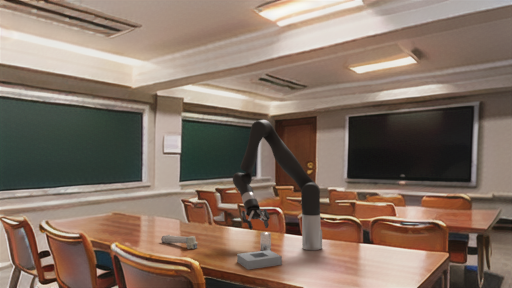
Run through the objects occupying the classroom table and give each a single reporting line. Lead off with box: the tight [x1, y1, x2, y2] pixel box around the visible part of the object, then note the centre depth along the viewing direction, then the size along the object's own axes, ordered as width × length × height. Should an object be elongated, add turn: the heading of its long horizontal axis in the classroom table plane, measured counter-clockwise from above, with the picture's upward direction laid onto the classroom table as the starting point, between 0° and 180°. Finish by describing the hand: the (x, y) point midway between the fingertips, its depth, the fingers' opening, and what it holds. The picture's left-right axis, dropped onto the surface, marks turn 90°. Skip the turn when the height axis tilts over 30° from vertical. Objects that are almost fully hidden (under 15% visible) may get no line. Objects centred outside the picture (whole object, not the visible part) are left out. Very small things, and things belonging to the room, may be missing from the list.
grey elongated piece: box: [160, 234, 198, 250], centre depth 188 cm, size 5×7×25 cm
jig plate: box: [236, 250, 283, 270], centre depth 155 cm, size 16×12×4 cm
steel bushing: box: [259, 231, 272, 251], centre depth 170 cm, size 5×5×10 cm
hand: (259, 228), depth 177 cm, fingers open, 8 cm apart
